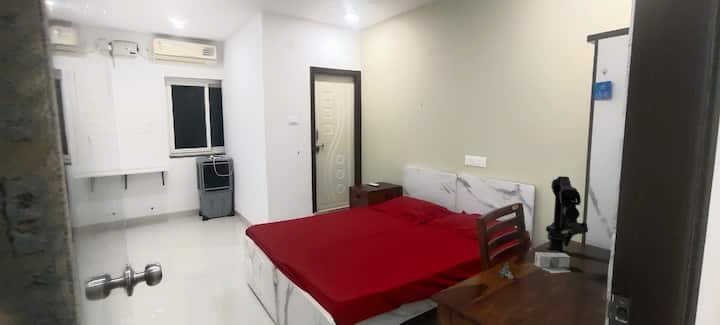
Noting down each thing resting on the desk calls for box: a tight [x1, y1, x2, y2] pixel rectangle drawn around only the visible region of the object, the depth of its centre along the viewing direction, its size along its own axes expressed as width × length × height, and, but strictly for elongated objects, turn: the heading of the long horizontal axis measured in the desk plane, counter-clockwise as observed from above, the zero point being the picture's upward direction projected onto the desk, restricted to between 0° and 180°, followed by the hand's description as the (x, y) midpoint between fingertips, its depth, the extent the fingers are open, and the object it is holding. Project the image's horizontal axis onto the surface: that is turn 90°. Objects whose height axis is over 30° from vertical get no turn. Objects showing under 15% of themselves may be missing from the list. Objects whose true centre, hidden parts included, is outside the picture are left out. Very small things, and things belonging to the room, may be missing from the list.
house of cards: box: [498, 262, 514, 280], centre depth 160 cm, size 9×9×8 cm
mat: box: [533, 262, 572, 274], centre depth 172 cm, size 12×11×1 cm
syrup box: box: [534, 251, 571, 269], centre depth 174 cm, size 6×6×14 cm
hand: (565, 246), depth 171 cm, fingers closed
